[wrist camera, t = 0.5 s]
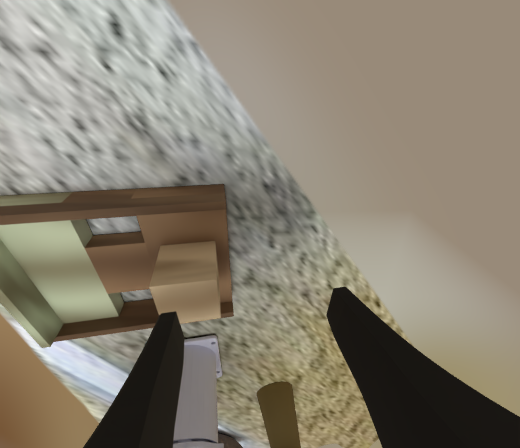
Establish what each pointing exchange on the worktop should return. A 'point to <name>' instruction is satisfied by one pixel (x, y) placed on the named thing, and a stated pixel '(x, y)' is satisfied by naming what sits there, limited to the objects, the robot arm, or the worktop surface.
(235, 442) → the perforated stone tool
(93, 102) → the worktop surface
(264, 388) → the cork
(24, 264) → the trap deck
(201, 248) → the maple cube
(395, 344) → the robot arm
